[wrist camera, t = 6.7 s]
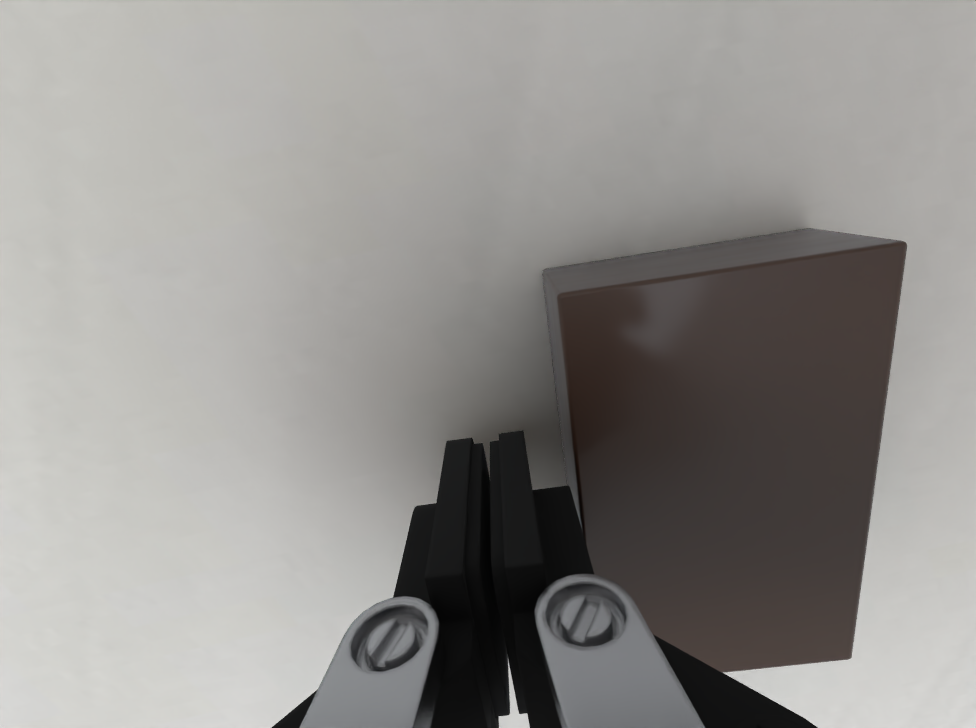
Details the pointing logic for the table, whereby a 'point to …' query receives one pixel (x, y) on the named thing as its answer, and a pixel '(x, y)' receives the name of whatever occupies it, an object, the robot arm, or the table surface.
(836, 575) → the walnut block
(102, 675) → the table surface
